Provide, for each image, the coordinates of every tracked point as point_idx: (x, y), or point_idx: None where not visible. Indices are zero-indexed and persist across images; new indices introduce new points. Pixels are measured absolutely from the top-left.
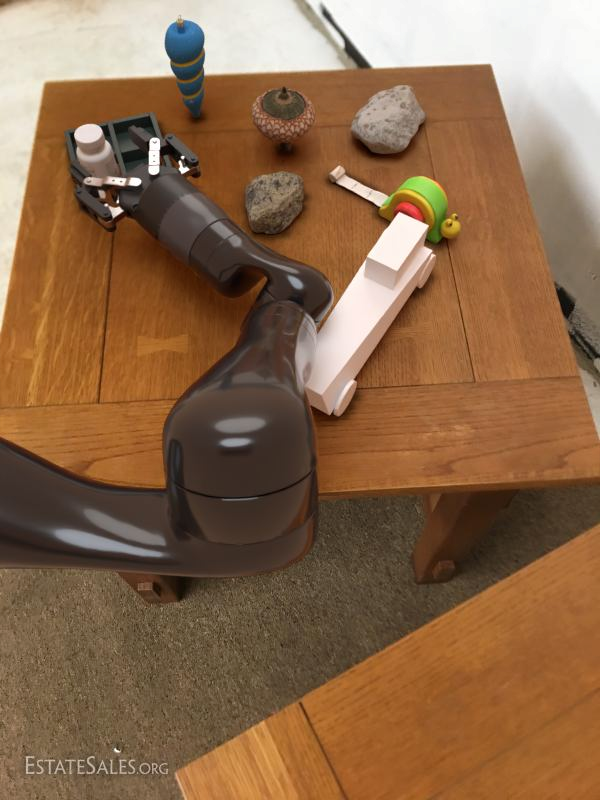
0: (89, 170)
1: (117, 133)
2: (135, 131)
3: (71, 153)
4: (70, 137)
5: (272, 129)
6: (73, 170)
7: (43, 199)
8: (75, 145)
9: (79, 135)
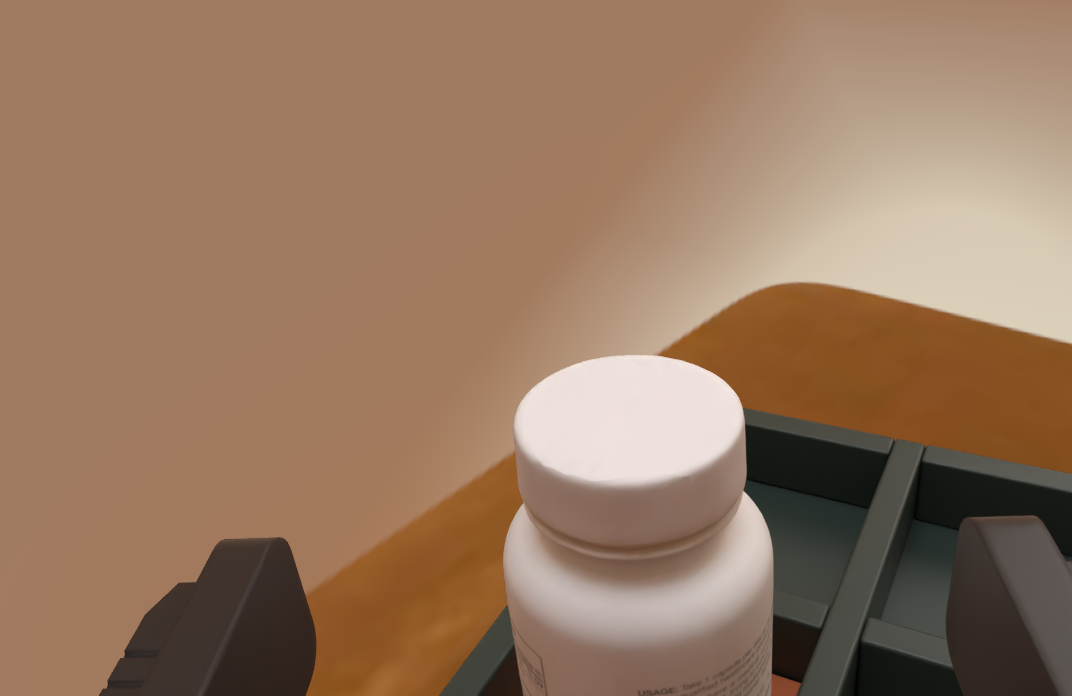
0: (522, 656)
1: (926, 520)
2: (1027, 589)
3: None
4: None
5: None
6: (170, 628)
7: (326, 640)
8: None
9: (559, 400)
